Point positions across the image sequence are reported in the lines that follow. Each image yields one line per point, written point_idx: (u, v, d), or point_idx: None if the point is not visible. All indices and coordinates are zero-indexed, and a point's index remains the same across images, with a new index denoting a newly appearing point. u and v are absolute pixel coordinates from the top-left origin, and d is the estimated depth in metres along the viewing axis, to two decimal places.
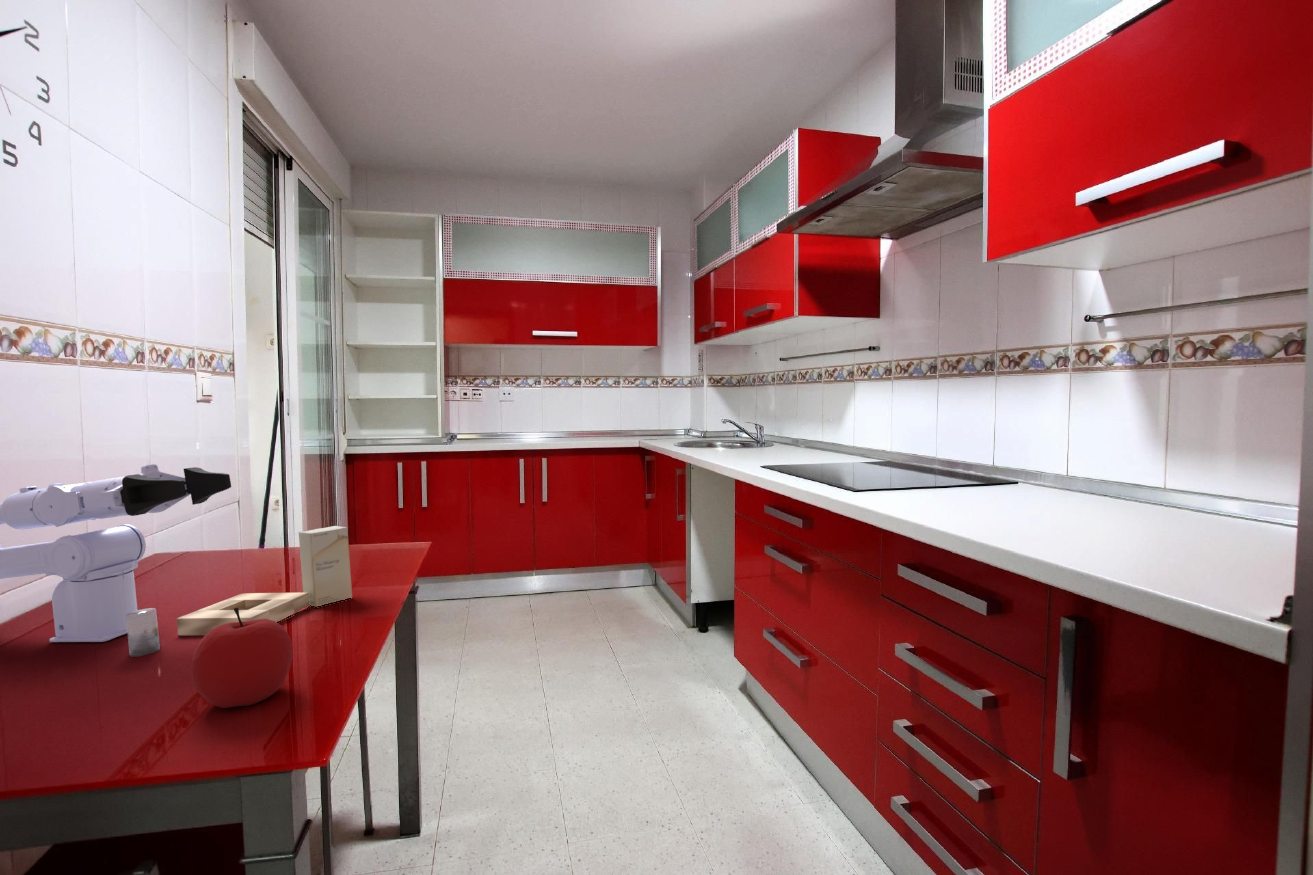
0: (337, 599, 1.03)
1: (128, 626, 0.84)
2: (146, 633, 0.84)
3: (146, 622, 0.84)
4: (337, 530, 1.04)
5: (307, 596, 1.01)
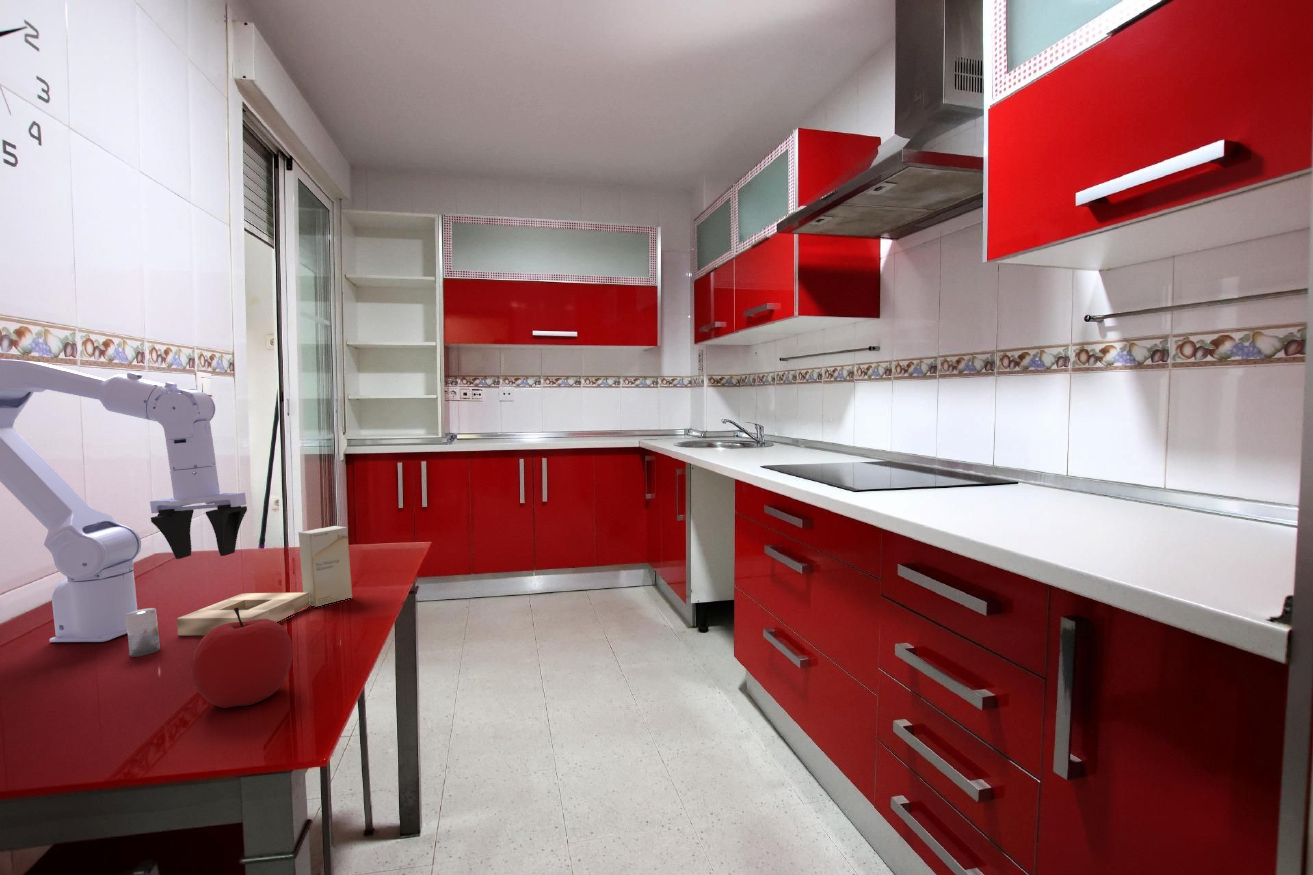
0: (337, 599, 1.03)
1: (128, 626, 0.84)
2: (146, 633, 0.84)
3: (146, 622, 0.84)
4: (337, 530, 1.04)
5: (307, 596, 1.01)
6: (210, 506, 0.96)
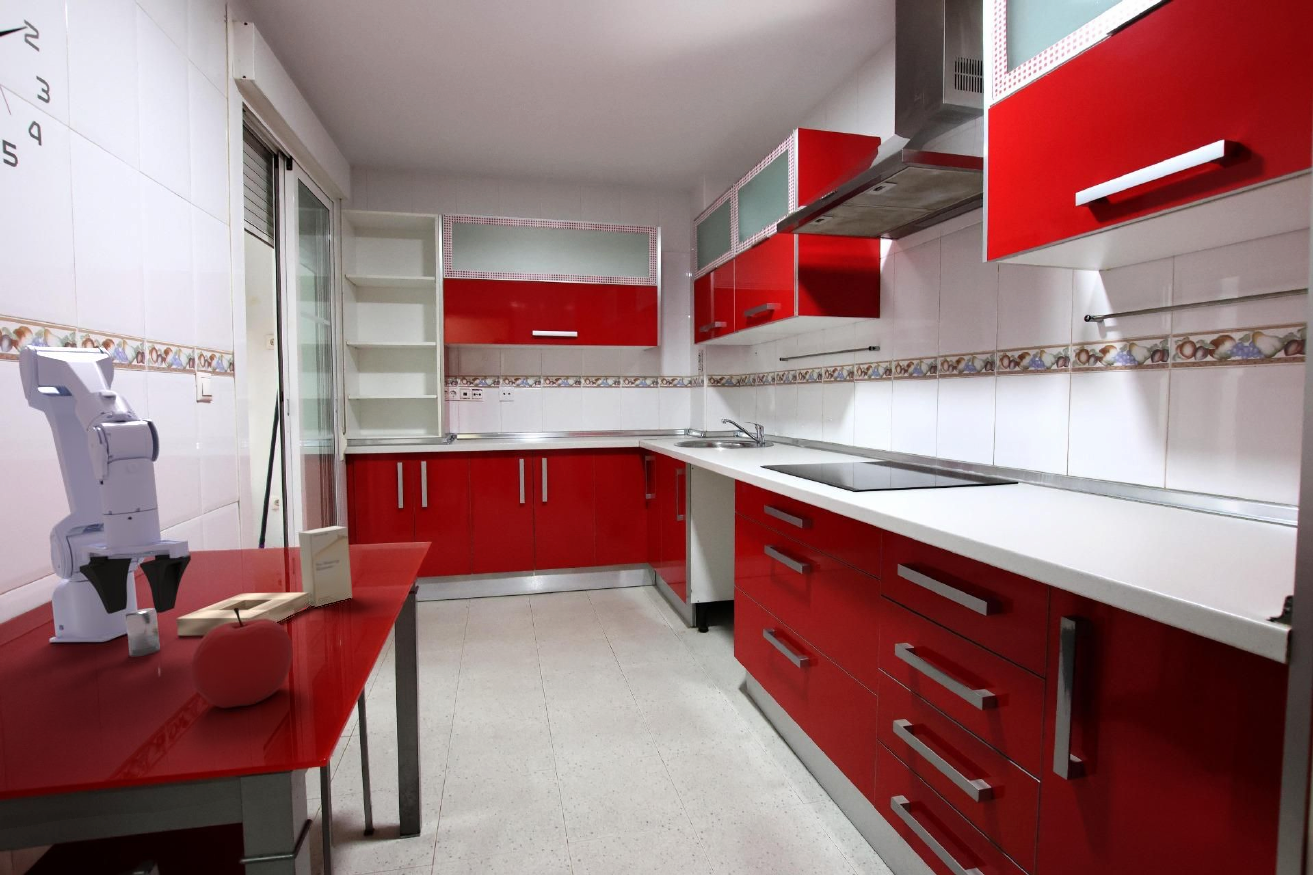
0: (337, 599, 1.03)
1: (128, 626, 0.84)
2: (146, 633, 0.84)
3: (146, 622, 0.84)
4: (337, 530, 1.04)
5: (307, 596, 1.01)
6: (147, 555, 0.84)
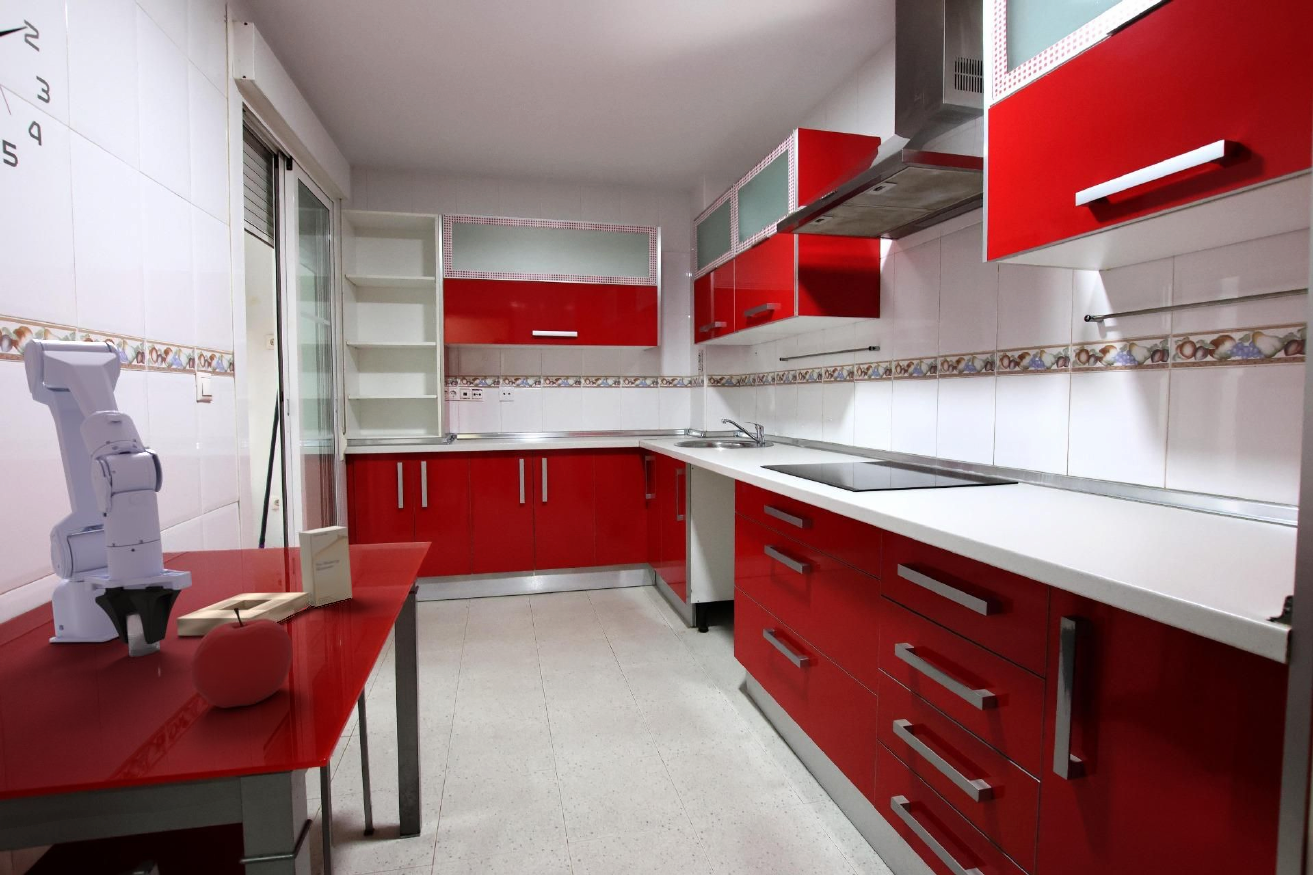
0: (337, 599, 1.03)
1: (128, 626, 0.84)
2: None
3: None
4: (337, 530, 1.04)
5: (307, 596, 1.01)
6: (150, 586, 0.84)
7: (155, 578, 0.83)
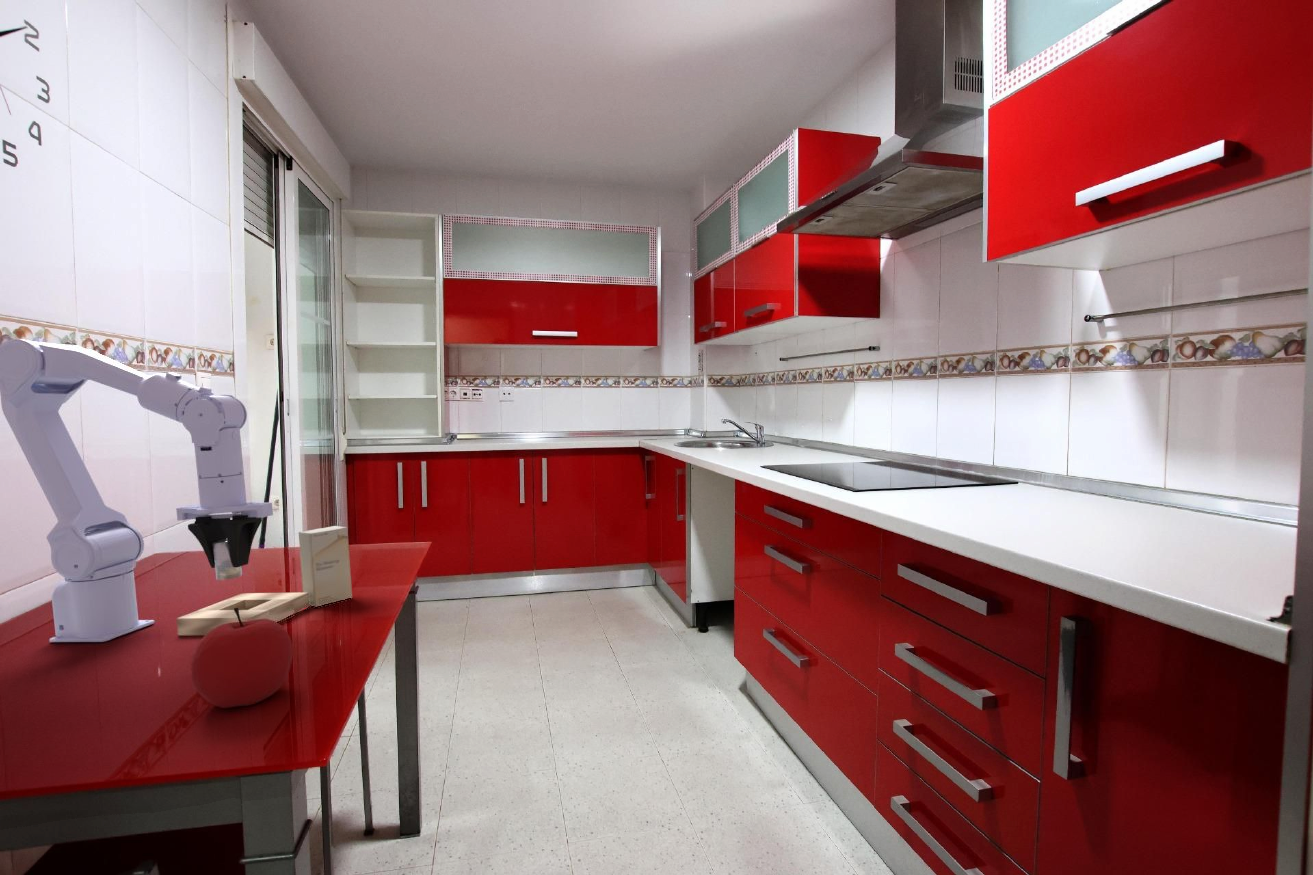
0: (337, 599, 1.03)
1: (215, 553, 0.93)
2: (230, 560, 0.93)
3: None
4: (337, 530, 1.04)
5: (307, 596, 1.01)
6: None
7: (242, 507, 0.92)
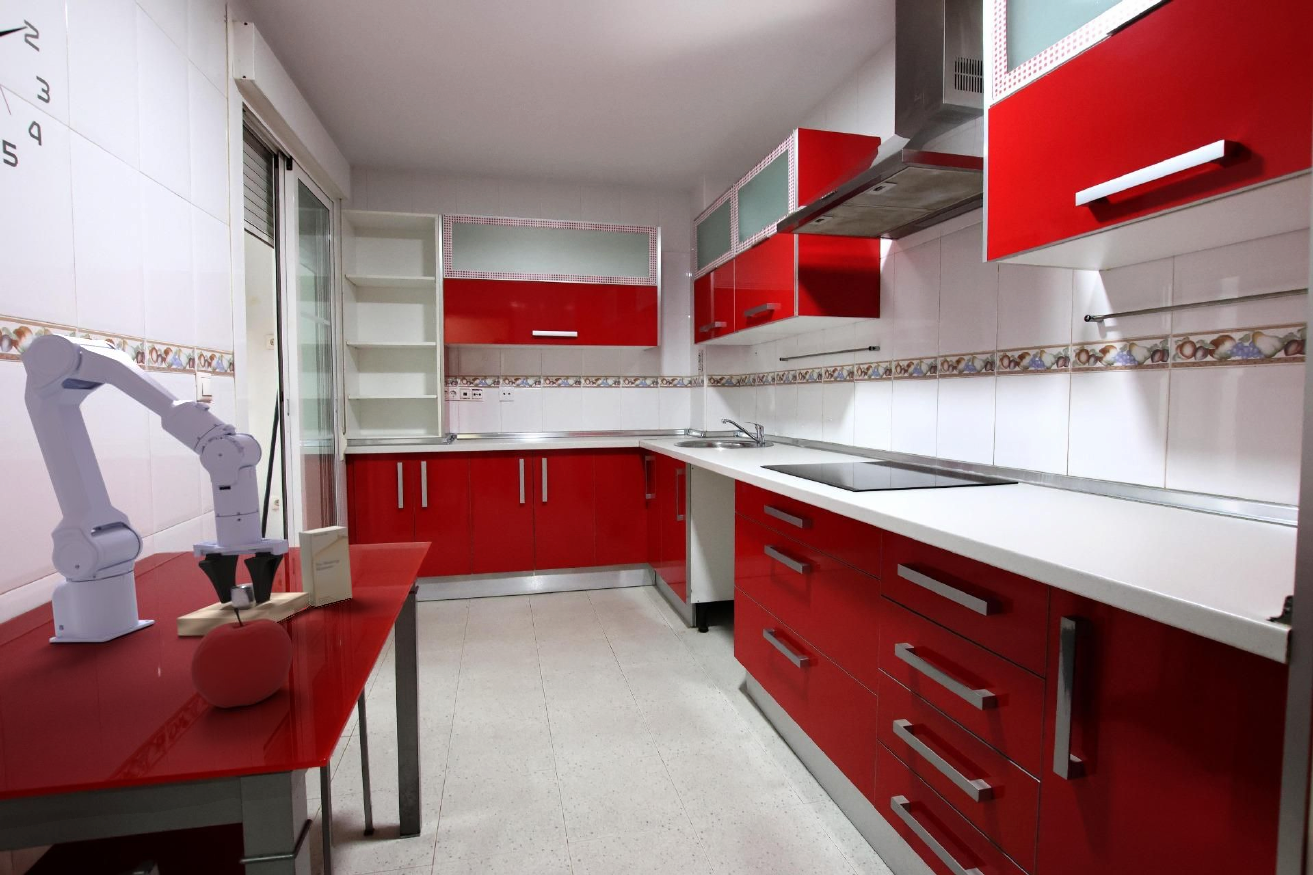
0: (337, 599, 1.03)
1: (232, 598, 0.95)
2: (247, 605, 0.95)
3: (247, 595, 0.95)
4: (337, 530, 1.04)
5: (307, 596, 1.01)
6: (253, 552, 0.95)
7: (258, 544, 0.94)
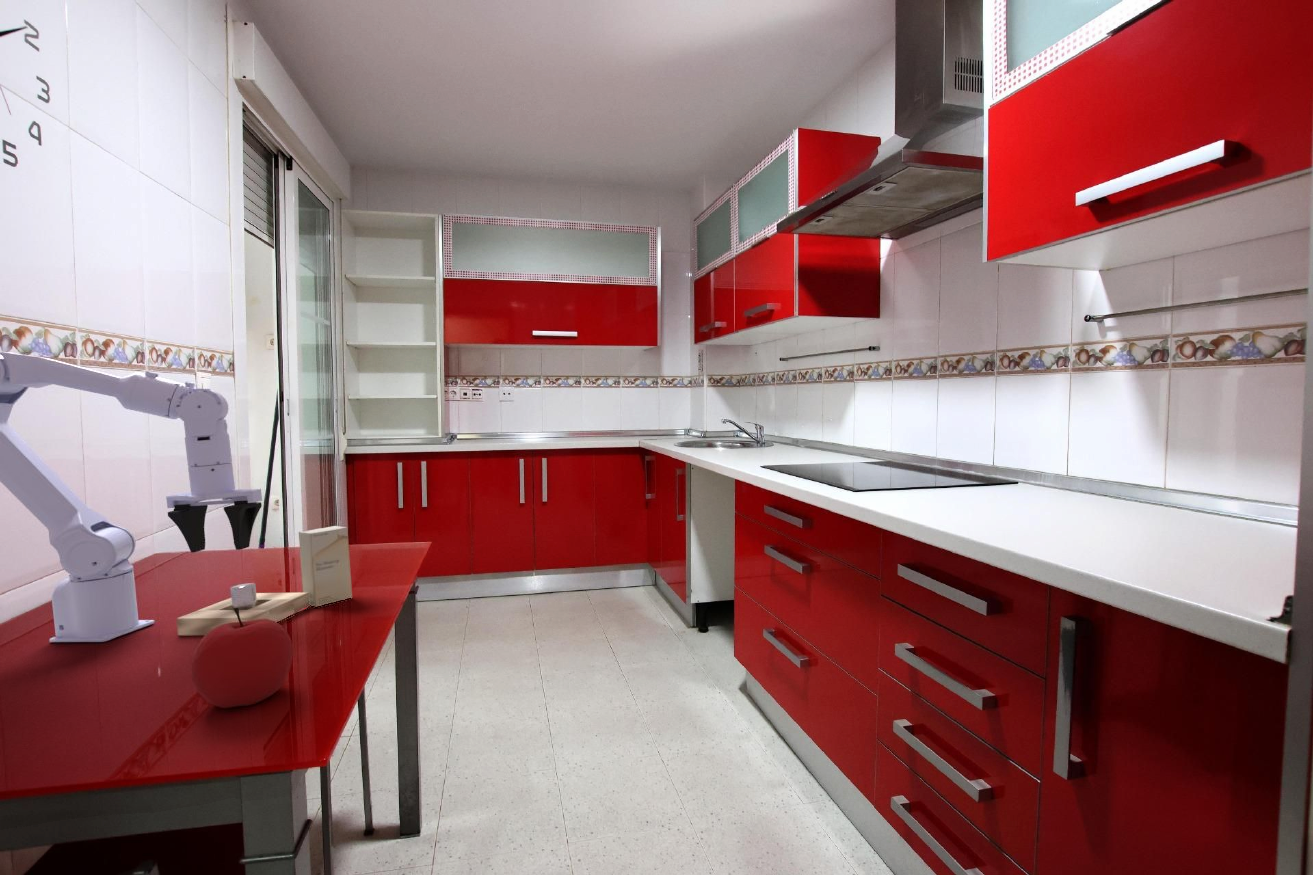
0: (337, 599, 1.03)
1: (232, 598, 0.95)
2: (247, 605, 0.95)
3: (247, 595, 0.95)
4: (337, 530, 1.04)
5: (307, 596, 1.01)
6: (226, 502, 0.99)
7: (232, 493, 0.98)
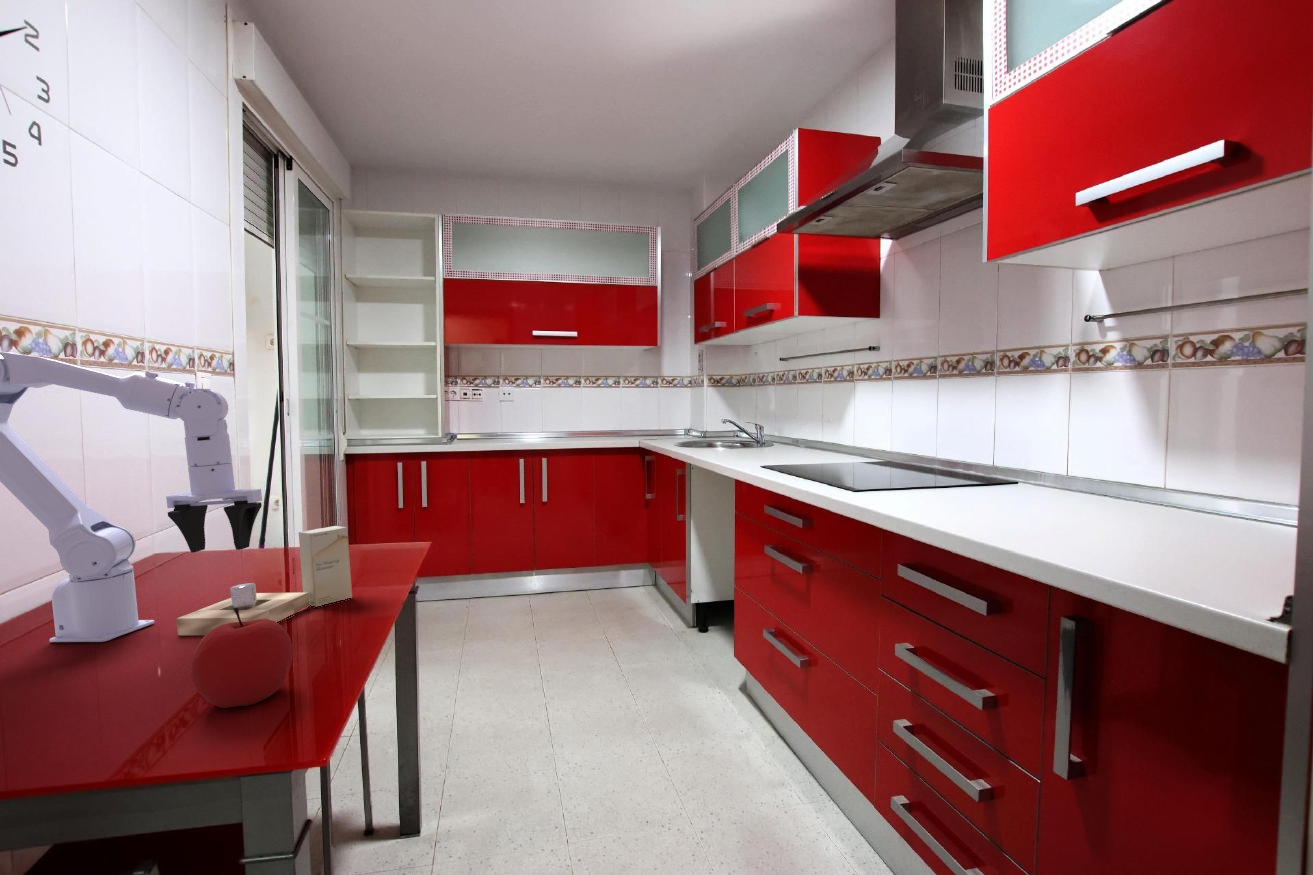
0: (337, 599, 1.03)
1: (232, 598, 0.95)
2: (247, 605, 0.95)
3: (247, 595, 0.95)
4: (337, 530, 1.04)
5: (307, 596, 1.01)
6: (226, 502, 0.99)
7: (232, 493, 0.98)
